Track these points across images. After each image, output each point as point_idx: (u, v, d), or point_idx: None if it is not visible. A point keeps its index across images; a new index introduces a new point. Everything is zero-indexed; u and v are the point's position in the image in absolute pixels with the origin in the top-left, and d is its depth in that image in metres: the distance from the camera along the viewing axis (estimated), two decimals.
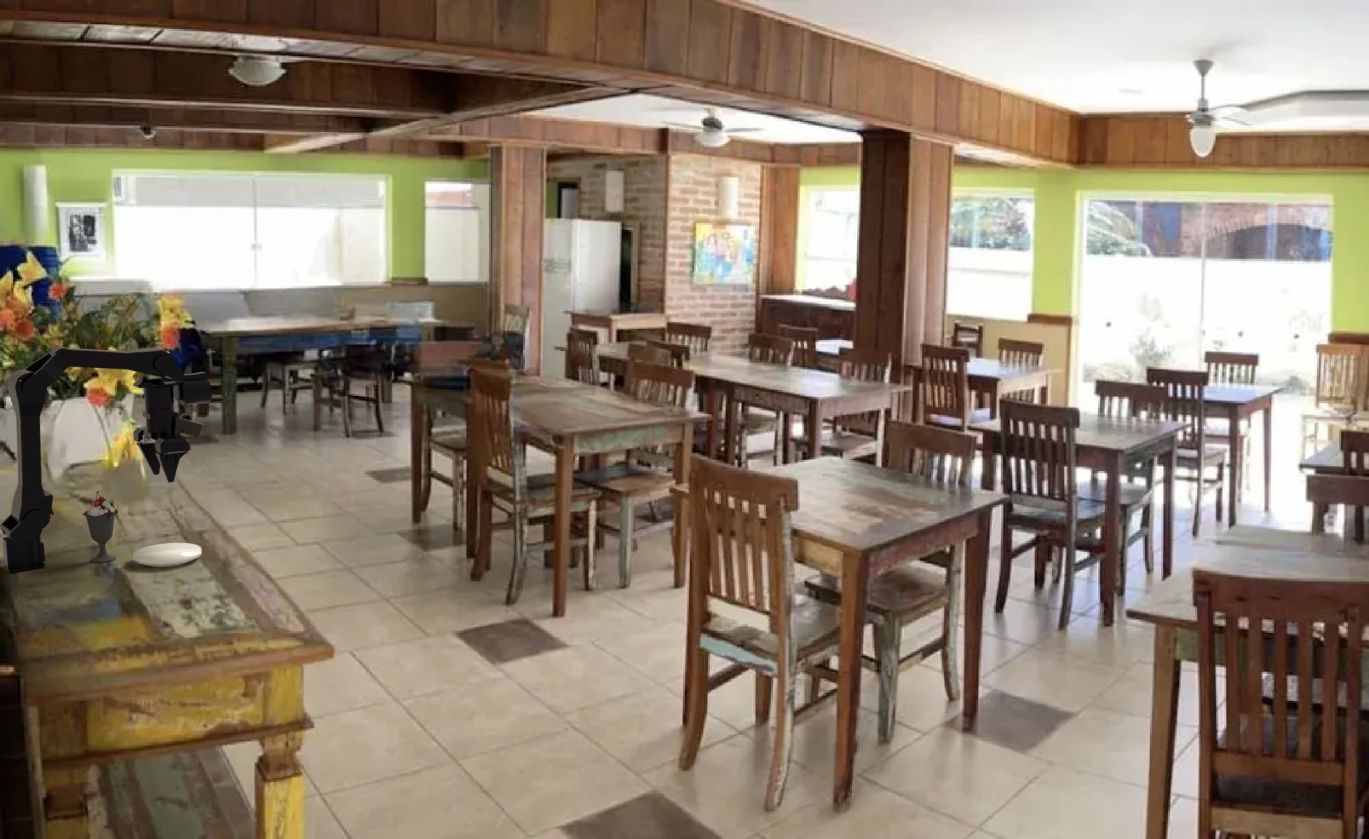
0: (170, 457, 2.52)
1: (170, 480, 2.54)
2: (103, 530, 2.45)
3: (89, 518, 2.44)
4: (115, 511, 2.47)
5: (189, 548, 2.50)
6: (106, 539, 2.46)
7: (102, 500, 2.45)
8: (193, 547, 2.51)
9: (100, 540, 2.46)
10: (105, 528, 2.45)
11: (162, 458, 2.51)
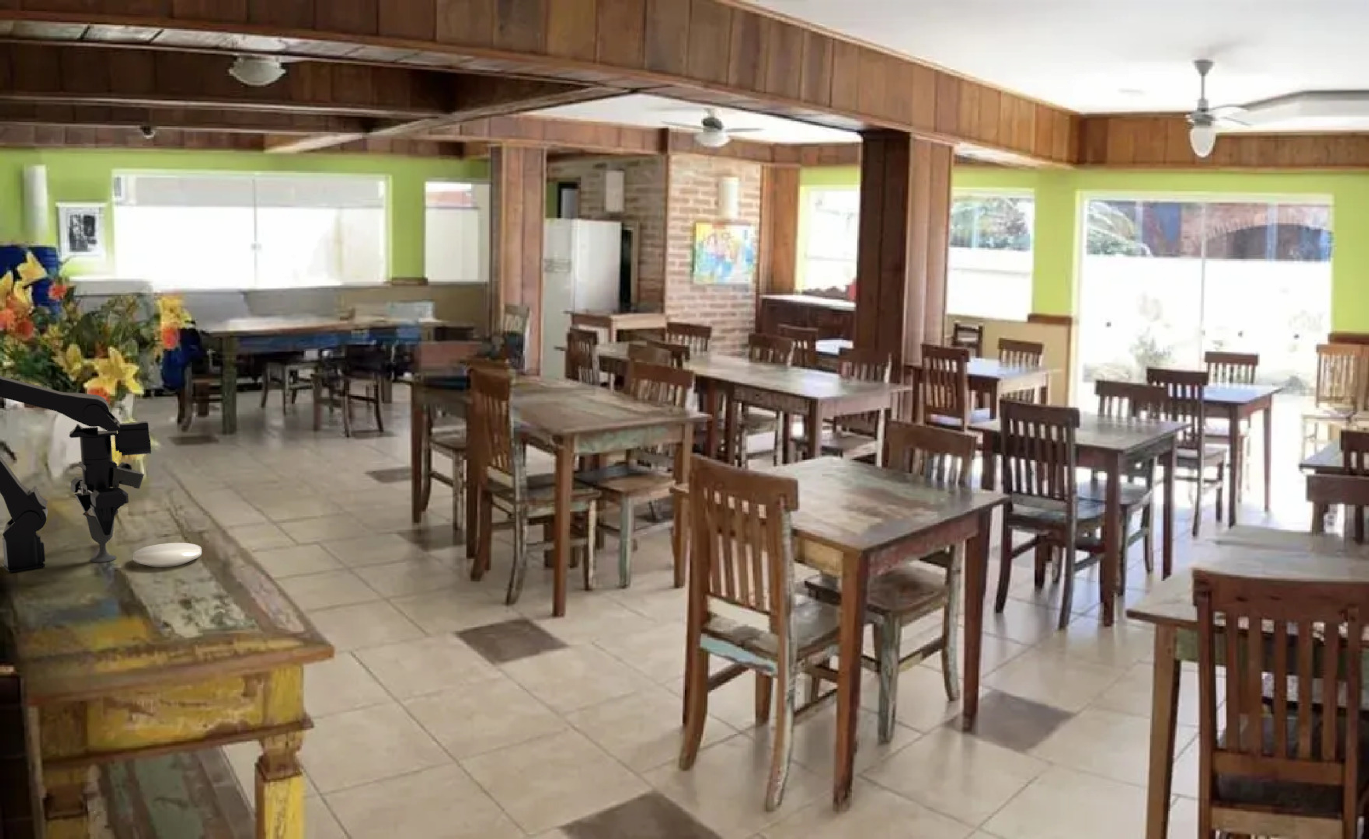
0: (106, 509, 2.42)
1: (106, 533, 2.44)
2: None
3: (89, 518, 2.44)
4: None
5: (189, 548, 2.50)
6: (106, 539, 2.46)
7: None
8: (193, 547, 2.51)
9: (100, 540, 2.46)
10: None
11: (97, 511, 2.40)
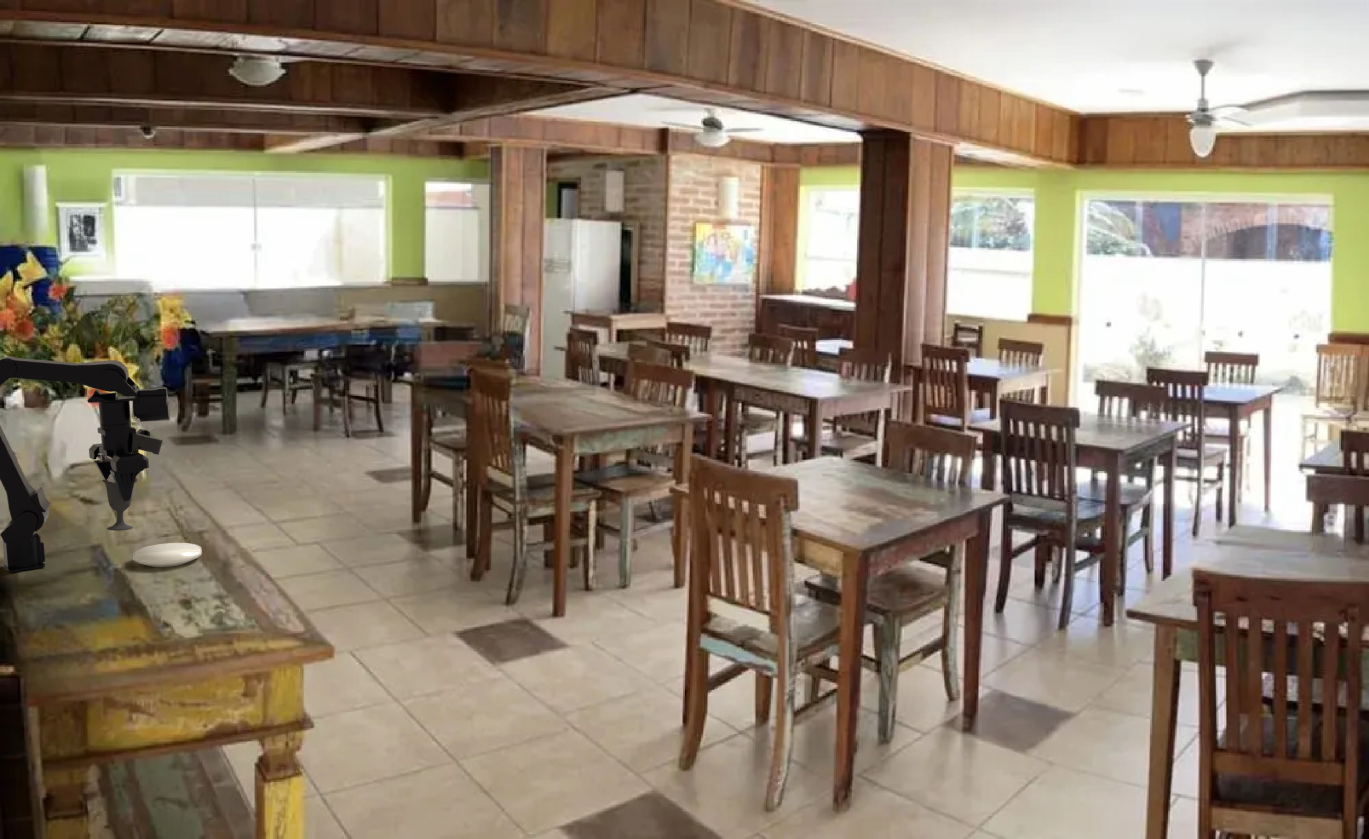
0: (126, 475, 2.41)
1: (126, 498, 2.43)
2: (121, 497, 2.43)
3: (108, 484, 2.43)
4: None
5: (189, 548, 2.50)
6: (124, 507, 2.44)
7: None
8: (193, 547, 2.51)
9: (117, 508, 2.44)
10: None
11: (117, 476, 2.39)
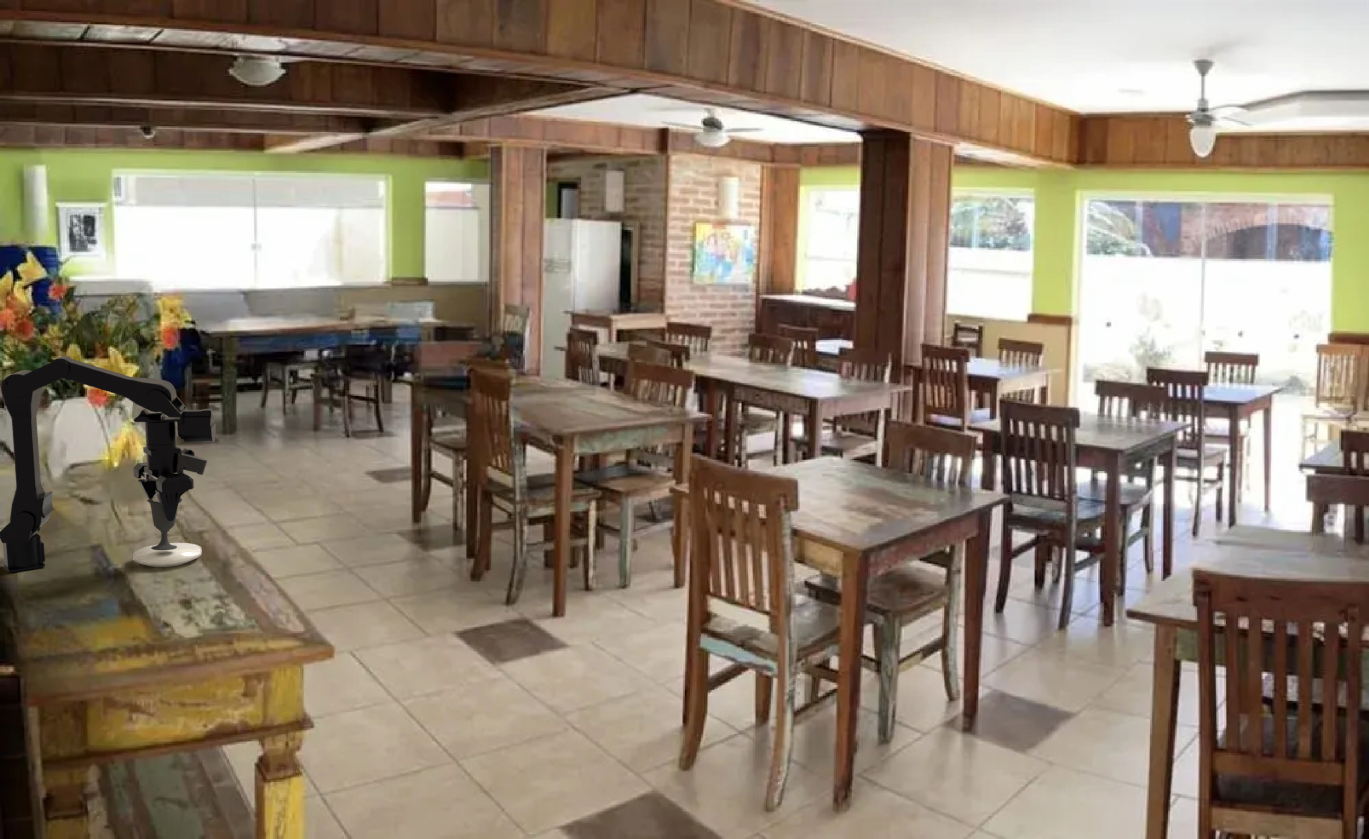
0: (170, 495, 2.42)
1: (170, 518, 2.43)
2: (166, 517, 2.44)
3: (153, 504, 2.43)
4: None
5: (189, 548, 2.50)
6: (168, 527, 2.45)
7: None
8: (193, 547, 2.51)
9: (162, 527, 2.44)
10: None
11: (162, 496, 2.40)
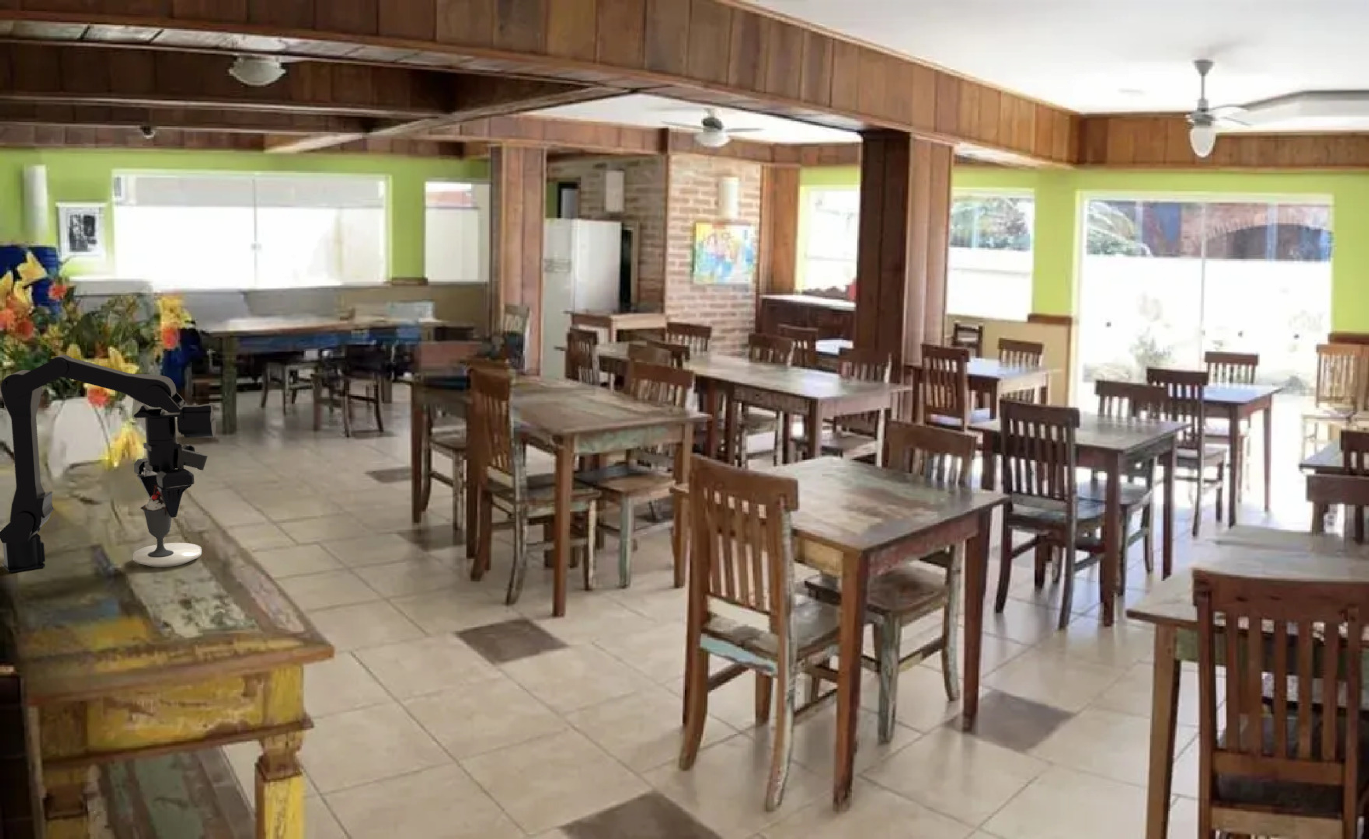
0: (172, 491, 2.41)
1: (173, 515, 2.42)
2: (161, 524, 2.43)
3: (147, 512, 2.42)
4: None
5: (189, 548, 2.50)
6: (164, 534, 2.44)
7: None
8: (193, 547, 2.51)
9: (158, 534, 2.43)
10: (162, 522, 2.43)
11: (164, 492, 2.39)
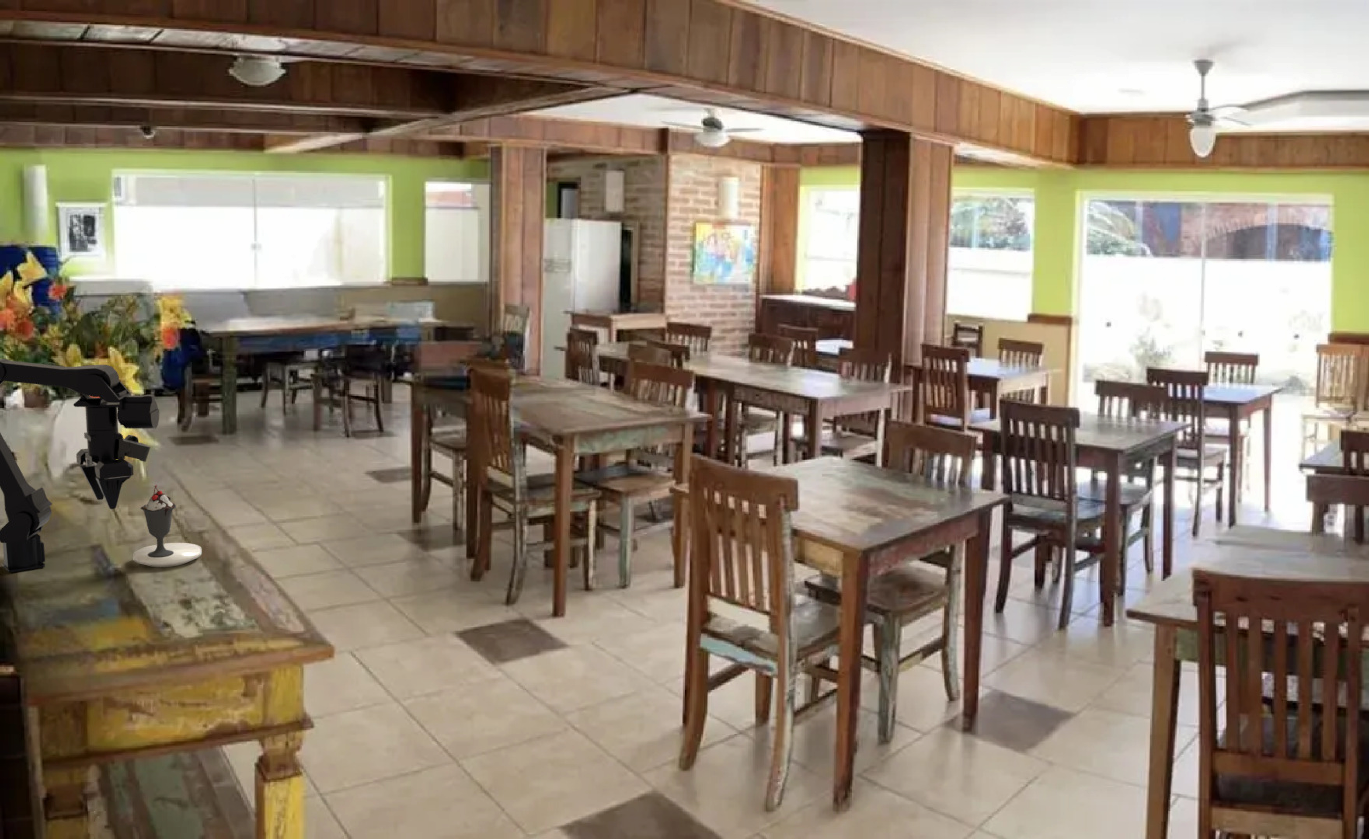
0: (111, 482, 2.37)
1: (112, 506, 2.38)
2: (161, 525, 2.43)
3: (147, 512, 2.42)
4: (173, 506, 2.44)
5: (189, 548, 2.50)
6: (164, 534, 2.44)
7: (160, 494, 2.43)
8: (193, 547, 2.51)
9: (158, 535, 2.43)
10: (162, 523, 2.43)
11: (102, 483, 2.35)
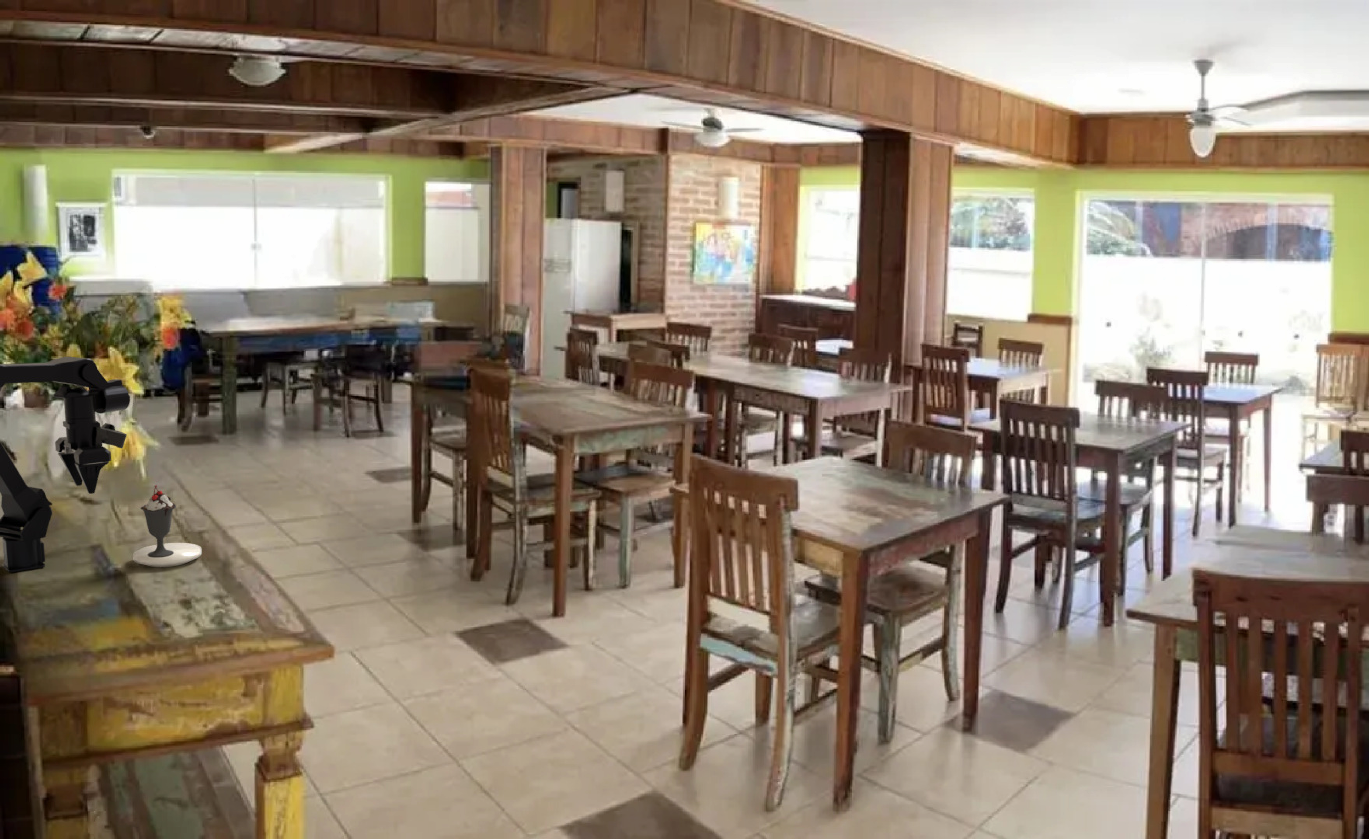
0: (90, 468, 2.48)
1: (91, 491, 2.49)
2: (161, 525, 2.43)
3: (147, 512, 2.42)
4: (173, 506, 2.44)
5: (189, 548, 2.50)
6: (164, 534, 2.44)
7: (160, 494, 2.43)
8: (193, 547, 2.51)
9: (158, 535, 2.43)
10: (162, 523, 2.43)
11: (81, 469, 2.46)
